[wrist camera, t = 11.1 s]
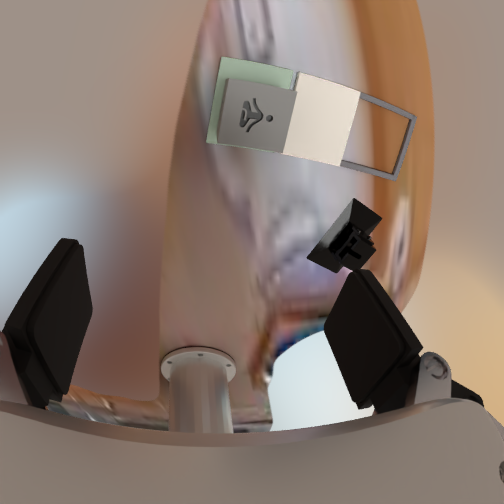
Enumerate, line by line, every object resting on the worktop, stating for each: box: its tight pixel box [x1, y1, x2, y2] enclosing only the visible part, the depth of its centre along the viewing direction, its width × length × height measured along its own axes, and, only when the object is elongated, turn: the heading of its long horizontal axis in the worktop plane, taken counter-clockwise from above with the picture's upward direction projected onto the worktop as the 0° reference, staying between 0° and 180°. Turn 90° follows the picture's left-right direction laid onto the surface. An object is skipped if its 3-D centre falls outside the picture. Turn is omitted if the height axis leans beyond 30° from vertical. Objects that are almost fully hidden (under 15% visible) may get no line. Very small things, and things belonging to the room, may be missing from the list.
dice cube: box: [216, 78, 297, 153], centre depth 21 cm, size 5×5×5 cm
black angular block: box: [307, 198, 382, 273], centre depth 32 cm, size 12×7×5 cm, turn 148°
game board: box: [206, 57, 417, 181], centre depth 25 cm, size 8×21×1 cm, turn 79°
